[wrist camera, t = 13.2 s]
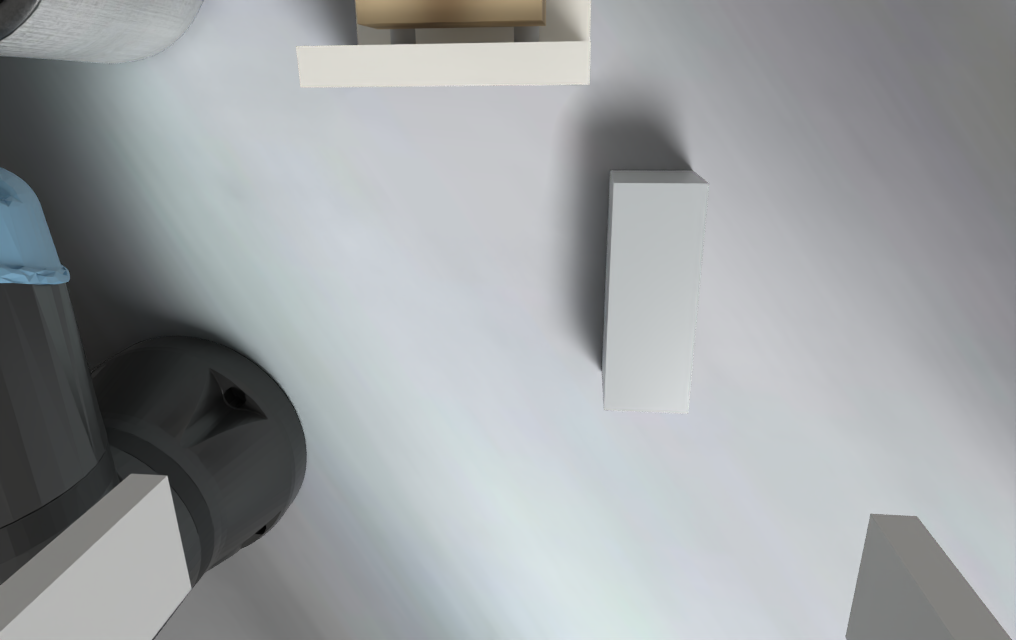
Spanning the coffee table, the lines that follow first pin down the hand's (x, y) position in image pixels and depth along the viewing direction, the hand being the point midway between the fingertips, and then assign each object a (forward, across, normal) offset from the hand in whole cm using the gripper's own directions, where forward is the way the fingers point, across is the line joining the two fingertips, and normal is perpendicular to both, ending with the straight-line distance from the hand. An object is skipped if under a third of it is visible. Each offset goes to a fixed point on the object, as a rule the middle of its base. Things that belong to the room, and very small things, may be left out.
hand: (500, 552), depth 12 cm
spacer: (+27, +5, -2) cm, 27 cm away
